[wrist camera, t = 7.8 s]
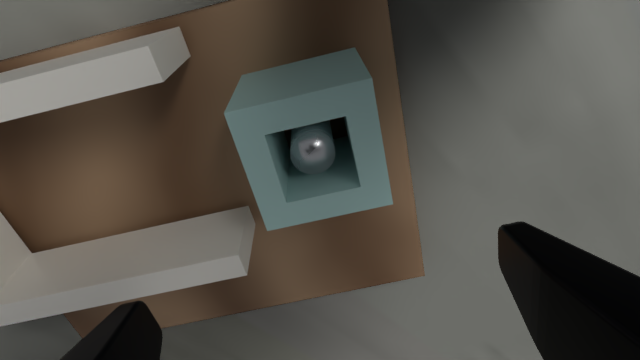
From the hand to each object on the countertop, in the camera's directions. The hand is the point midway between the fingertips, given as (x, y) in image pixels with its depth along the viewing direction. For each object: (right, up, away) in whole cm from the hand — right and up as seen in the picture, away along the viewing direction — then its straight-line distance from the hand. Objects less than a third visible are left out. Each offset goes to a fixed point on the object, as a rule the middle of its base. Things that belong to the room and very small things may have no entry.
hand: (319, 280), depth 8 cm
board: (-5, +2, +10) cm, 12 cm away
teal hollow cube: (0, +4, +8) cm, 9 cm away
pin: (0, +5, +9) cm, 10 cm away
